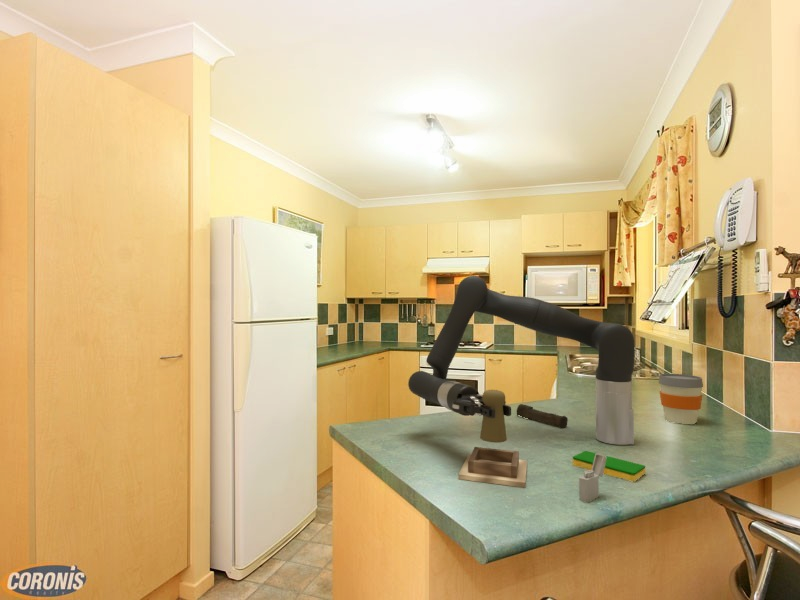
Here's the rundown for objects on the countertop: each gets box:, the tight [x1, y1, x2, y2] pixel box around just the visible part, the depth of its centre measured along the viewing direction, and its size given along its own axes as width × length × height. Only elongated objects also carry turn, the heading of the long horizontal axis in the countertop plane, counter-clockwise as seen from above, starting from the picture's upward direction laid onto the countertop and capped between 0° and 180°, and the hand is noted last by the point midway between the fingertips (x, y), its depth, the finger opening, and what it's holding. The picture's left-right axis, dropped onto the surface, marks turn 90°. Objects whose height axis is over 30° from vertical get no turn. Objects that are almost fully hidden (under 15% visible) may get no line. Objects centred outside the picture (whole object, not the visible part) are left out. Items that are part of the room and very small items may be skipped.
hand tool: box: [516, 403, 569, 429], centre depth 143 cm, size 19×4×5 cm, turn 32°
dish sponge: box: [572, 450, 646, 482], centre depth 100 cm, size 7×14×2 cm, turn 42°
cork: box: [479, 389, 508, 444], centre depth 99 cm, size 6×6×11 cm
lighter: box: [578, 452, 607, 503], centre depth 85 cm, size 7×2×8 cm, turn 124°
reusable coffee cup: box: [658, 373, 704, 425], centre depth 144 cm, size 13×13×15 cm
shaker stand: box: [458, 446, 528, 488], centre depth 98 cm, size 14×14×4 cm
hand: (501, 412), depth 96 cm, fingers closed on cork, 4 cm apart
